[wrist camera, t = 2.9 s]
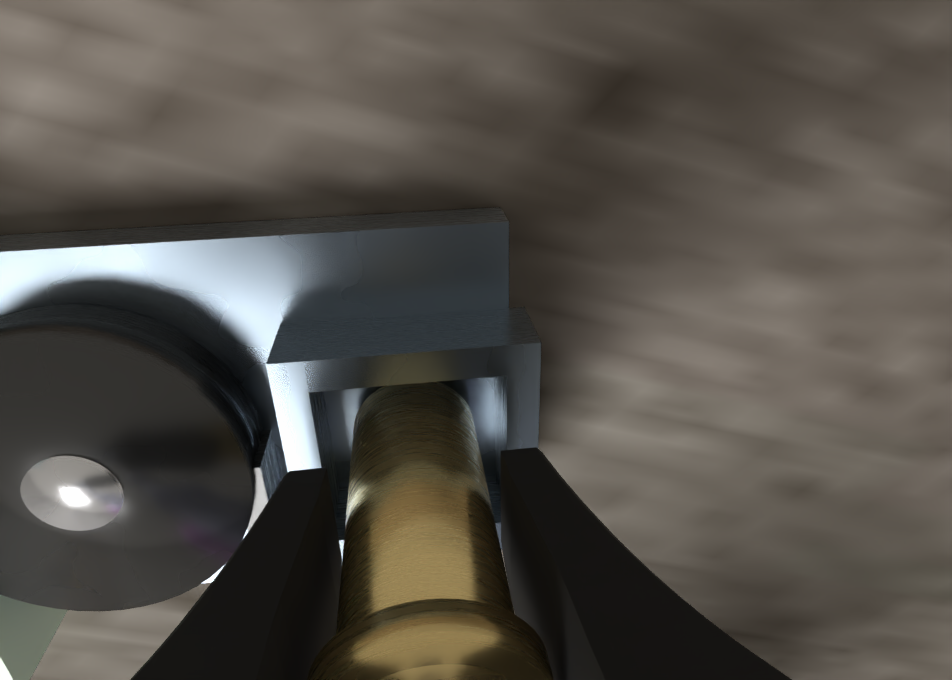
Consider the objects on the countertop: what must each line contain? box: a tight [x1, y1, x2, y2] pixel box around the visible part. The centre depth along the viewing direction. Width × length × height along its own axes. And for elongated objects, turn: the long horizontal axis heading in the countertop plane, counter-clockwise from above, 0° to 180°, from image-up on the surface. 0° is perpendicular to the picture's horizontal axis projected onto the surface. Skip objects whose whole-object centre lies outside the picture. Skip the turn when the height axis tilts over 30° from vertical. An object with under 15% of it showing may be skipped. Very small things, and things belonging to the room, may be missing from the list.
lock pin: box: [307, 382, 554, 680], centre depth 10 cm, size 3×3×6 cm
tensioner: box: [0, 207, 541, 611], centre depth 12 cm, size 8×11×2 cm
